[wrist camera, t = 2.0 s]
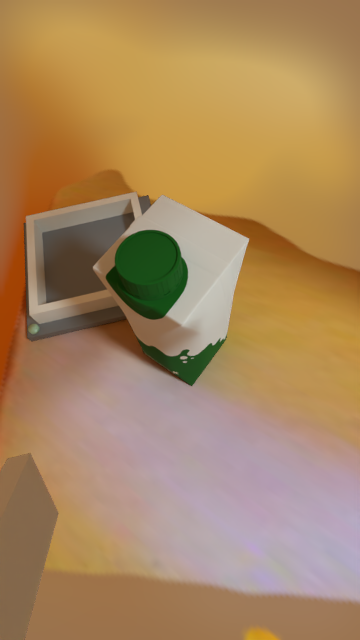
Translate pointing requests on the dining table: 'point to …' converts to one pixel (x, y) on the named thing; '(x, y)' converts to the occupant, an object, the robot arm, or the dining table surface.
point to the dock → (73, 264)
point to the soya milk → (175, 284)
